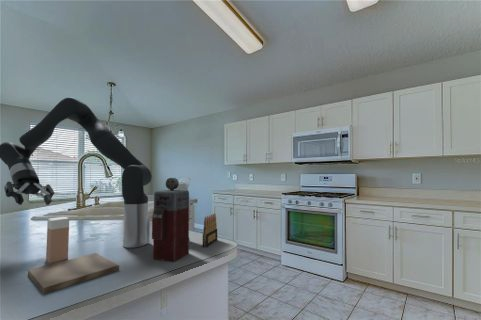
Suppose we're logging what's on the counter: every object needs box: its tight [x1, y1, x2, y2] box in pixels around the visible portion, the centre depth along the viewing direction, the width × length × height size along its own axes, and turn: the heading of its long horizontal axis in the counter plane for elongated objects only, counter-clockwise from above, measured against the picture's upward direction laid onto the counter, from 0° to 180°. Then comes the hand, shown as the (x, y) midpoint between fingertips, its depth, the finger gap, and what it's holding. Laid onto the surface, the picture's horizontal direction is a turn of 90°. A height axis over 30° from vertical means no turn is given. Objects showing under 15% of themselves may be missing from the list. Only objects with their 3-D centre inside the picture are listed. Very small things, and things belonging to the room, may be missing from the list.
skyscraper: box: [174, 177, 191, 243], centre depth 101 cm, size 8×8×28 cm
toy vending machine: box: [151, 177, 190, 263], centre depth 82 cm, size 9×11×28 cm
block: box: [45, 216, 70, 264], centre depth 81 cm, size 5×5×14 cm
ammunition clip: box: [202, 212, 218, 249], centre depth 98 cm, size 11×2×12 cm, turn 161°
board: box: [27, 252, 120, 295], centre depth 70 cm, size 18×18×2 cm
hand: (35, 203), depth 87 cm, fingers open, 8 cm apart
